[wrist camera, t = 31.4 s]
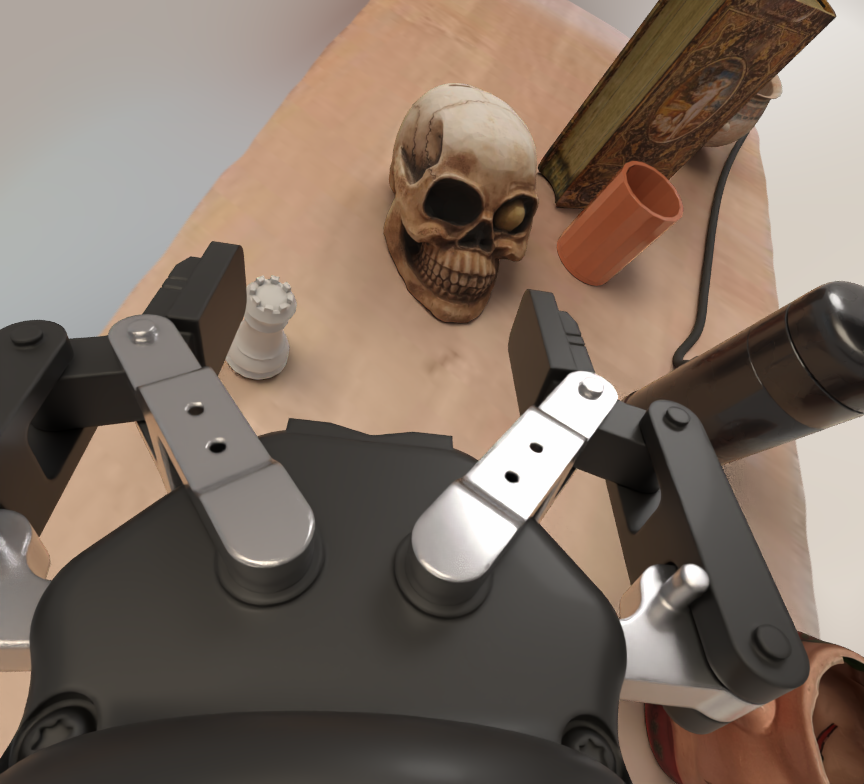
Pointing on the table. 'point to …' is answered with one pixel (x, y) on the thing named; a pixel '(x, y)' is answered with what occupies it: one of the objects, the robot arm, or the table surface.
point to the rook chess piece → (263, 330)
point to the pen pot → (619, 223)
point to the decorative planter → (778, 732)
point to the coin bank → (459, 197)
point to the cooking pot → (747, 115)
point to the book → (677, 87)
